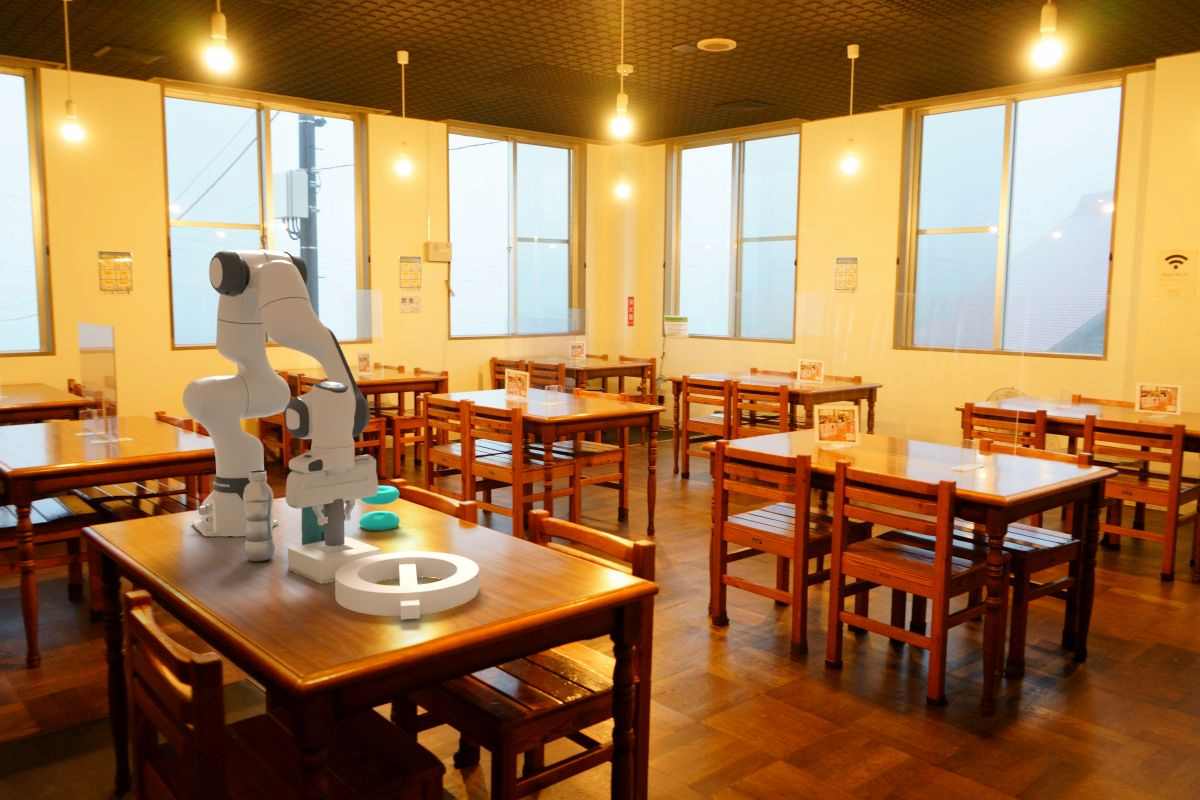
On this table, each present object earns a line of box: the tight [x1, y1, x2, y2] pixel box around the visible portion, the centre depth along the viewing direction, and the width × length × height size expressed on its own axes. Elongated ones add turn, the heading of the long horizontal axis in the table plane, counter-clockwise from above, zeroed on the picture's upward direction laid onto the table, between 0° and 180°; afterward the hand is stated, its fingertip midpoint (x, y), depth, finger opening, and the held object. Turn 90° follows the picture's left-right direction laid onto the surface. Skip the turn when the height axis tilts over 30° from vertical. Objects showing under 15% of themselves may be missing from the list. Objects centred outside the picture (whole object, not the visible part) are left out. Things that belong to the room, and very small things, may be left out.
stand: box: [287, 536, 382, 584], centre depth 196 cm, size 14×14×5 cm
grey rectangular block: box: [324, 498, 345, 546], centre depth 195 cm, size 4×4×10 cm
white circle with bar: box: [334, 551, 480, 620], centre depth 182 cm, size 28×28×5 cm
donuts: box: [359, 485, 401, 532], centre depth 233 cm, size 10×10×10 cm
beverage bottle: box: [300, 504, 325, 545], centre depth 206 cm, size 6×7×20 cm
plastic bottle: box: [243, 469, 276, 562], centre depth 201 cm, size 6×7×20 cm
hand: (334, 522), depth 195 cm, fingers closed on grey rectangular block, 4 cm apart
